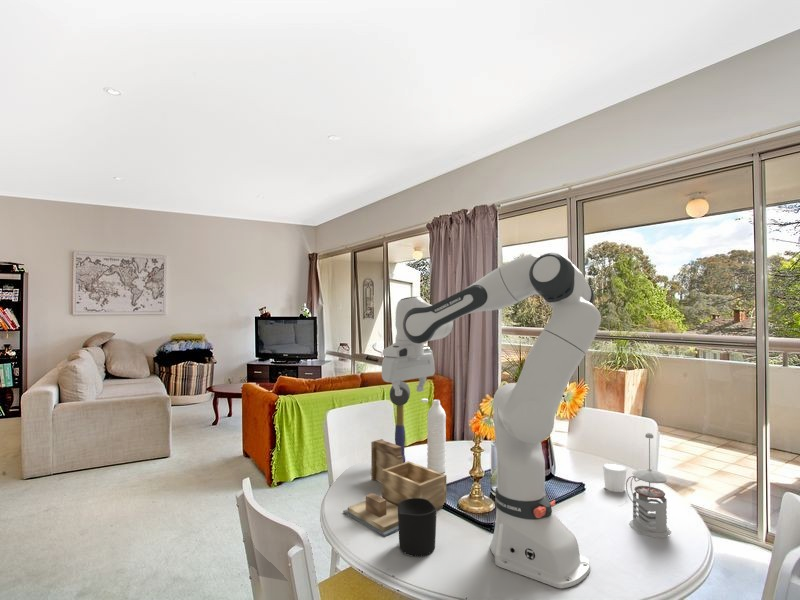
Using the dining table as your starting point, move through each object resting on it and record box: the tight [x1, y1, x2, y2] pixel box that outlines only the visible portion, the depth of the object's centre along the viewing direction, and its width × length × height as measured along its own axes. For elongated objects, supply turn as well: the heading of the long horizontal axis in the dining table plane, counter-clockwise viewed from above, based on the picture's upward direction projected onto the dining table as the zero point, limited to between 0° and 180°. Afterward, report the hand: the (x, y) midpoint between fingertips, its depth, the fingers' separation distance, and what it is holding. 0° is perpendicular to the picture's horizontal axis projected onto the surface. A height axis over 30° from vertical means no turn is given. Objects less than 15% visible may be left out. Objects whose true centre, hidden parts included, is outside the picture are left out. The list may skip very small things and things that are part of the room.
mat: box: [342, 508, 399, 538], centre depth 126 cm, size 18×12×1 cm, turn 43°
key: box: [375, 439, 401, 456], centre depth 150 cm, size 10×2×2 cm, turn 43°
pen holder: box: [398, 498, 438, 558], centre depth 111 cm, size 9×9×10 cm
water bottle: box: [421, 398, 447, 474], centre depth 161 cm, size 9×6×25 cm
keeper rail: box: [370, 438, 403, 483], centre depth 149 cm, size 12×4×13 cm, turn 43°
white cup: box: [602, 462, 627, 493], centre depth 146 cm, size 7×7×7 cm
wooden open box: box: [381, 461, 447, 511], centre depth 135 cm, size 16×11×9 cm
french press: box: [625, 432, 672, 539], centre depth 121 cm, size 10×12×25 cm
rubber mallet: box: [389, 381, 411, 463], centre depth 167 cm, size 12×8×30 cm, turn 178°
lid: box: [347, 492, 398, 532], centre depth 126 cm, size 16×11×5 cm
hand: (409, 393), depth 142 cm, fingers open, 8 cm apart
